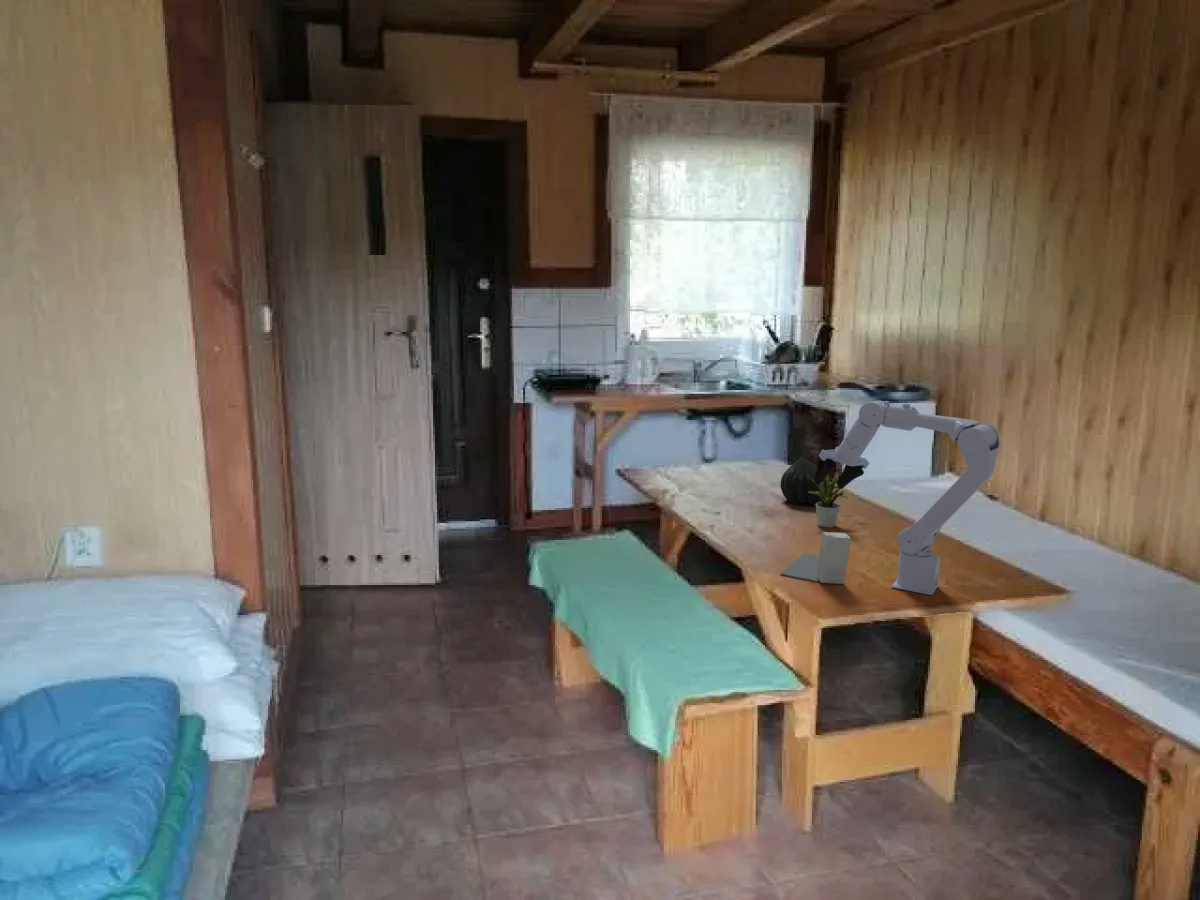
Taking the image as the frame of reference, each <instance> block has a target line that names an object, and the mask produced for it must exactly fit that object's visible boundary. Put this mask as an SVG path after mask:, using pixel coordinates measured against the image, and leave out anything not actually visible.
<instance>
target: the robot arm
mask: <svg viewBox="0 0 1200 900" xmlns="http://www.w3.org/2000/svg"><path fill="white" fill-rule="evenodd" d="M881 426H882V427H885V428H891V429H896V430H897V429H898V430H903V431H908V432H911V431H913V430H914V429H915V428H922V429H927V430H931V431H935V432H940V433H941V432H942V433H946V434H948V435H949V437H950V438H951V441H953V442H957V445H958V448H959V450H960V451H961V454H962V456H963V458H964V459H965V463H966V468H967V469H966V470H965V471H964V472H963V473H962V475H960V477H958V479H957V480H956V481H955V482H954V483H953V484H952V485H951V486H950V487H949V488H948V489H947V490H946V491H945V492H944V494H942V495H941V496H940V498H938V500H937V501H936V502H935V503H934V504H933V505H932V506H931V507H930V508H929V509H928V510H927V511H926V512H925V513H924V514H923V515H922V516H921V517H920V518H918V519H917V520H916V521H915V522H914V523H913V524H912V525H911V526H909V527H905V528H904V529H902V530H900V531H899V533H898V534H897V537H896V543H897V546H898V547H899V556H898V566H897V576H896V580H895V581H894V582H893V584H892V585H891V588H892V589H893V588H894V589H899V590H902V591H903V590H904V591H908V592H913V593H920V594H924V595H930V596H933V594H934V593H935V591H936V590H937V588H938V587H939V578H940V577H939V576H940V567H941V557H940V555H938V554H937V555H936V554H933V553H932V549H931V546H932V545H933V544H934V543H935V541H936V539H937V535H938V533H939V532H940V531H941V530H942V527H943V526H944V525H945V524H946V523H947V522H948V521H949V520H950V518H952V517H953V515H955V514H956V513H957V512H958V510H960V509H961V507H963V505H965V503H967V502H968V501H969V500H970V498H971V497H972V496H974V494H975V493H976V492H977V491H978V490H980V488H981V487H982V486H984V484H985V483H986V482H987V481H988V480H989V479H990V478H991V477H992V476H993V474H994V471H995V466H996V461H997V457H998V452H999V450H1000V447H1001V441H1000V436H999V433H998V429H997V428H995V427H994V426H993V425H992V424H990V423H985V422H983V423H980V421H977V420H974V419H969V418H968V419H967V418H962V417H960V418H959V417H953V416H945V415H944V416H943V415H936V414H929V413H928V414H927V413H920V412H919V410H918V409H917V407H916V408H915V407H914V406H911V403H903V404H902V405H901V404H894V403H890V401H888V400H885V401H883V400H874V401H870V402H866V403H864V404H863V405H861V407H860V409H859V411H858V417H857V419H856V420H855V422H854V423H852V426H851V427H850V429H849V430H848V431H847V434H846V435H845V437H844V438H843V439H842V441H841V443H840V444H839V445H838V446H836V447H835V448H834V449H827V450H826V449H822V450H821V451H820V452H819V453H818V455H817V465H816V466H817V470H816V474H815V477H814V482H815V483H816V484H817V485H820V484H821V483H822V481H823V480H824V479H825V477H827V475H828V476H829V474H830V473H831V472H833V471H834V470H835V469H836V468H835V467H834V465H833V463H834V462H835V463H840V464H843V465H845V466H844V468H843V470H842V472H841V473H840V476H838V477H839V478H837V483H836V486H838V487H839V488H840V490H842V489H844V488H846V486H848V485H849V484H850V483H852V482H853V481H854V480H855V479H857V478H859V477H862V476H863V475H864V473H865V471H864V469H865V470H867V468H868V466H869V465H870V462H869V461H868V459H867V458H864V457H862V455H863V453H864V452H865V450H866V449H867V447H868V446H869V444H870V443H871V442H872V440H873V438H874V437H875V435H876V433H877V432H878V431H879V429H880V427H881ZM847 484H848V485H847Z"/></svg>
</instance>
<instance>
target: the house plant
mask: <svg viewBox="0 0 1200 900" xmlns="http://www.w3.org/2000/svg"><path fill="white" fill-rule="evenodd" d="M837 473H838V472H835V474H834V477H833V479H832V480H831V479H830V477H829V474H828V475H827V476H826V477H827V479H826V480H827V494H826V491H825V487H824V483H823V481H822V483H821V484H820V485H817V484H816V483H815V482H814V483H815V484H816V485H817V487H818V488H819V490H820V492H818V491H815V492H813V491H810V492H808V493H813V494H816V495H818V496H819V497H820V499H821V502H818V503H816V505H815V512H816V523H817V526H819V527H821V526H822V528H835V527H836V524H837V520H838V516H839V512H840V508H841V505H840V504H838V503H837V501H836V500H837V498H839V497H841V498H846V499H849V496H847V494H845V492H847V491H849V489H848V490H847V489H846V490H843V491H840V490H841V489H840V488H839V487H838V486H837V484H836V483H837V481H838V479H839V478H838V477H839V474H837ZM812 480H813V479H812ZM813 481H814V480H813ZM848 485H849V483H848V484H847V485H846V486H848ZM819 486H820V487H819ZM841 498H839V499H838V501H839V500H841ZM835 501H836V502H835ZM834 526H835V527H834Z"/></svg>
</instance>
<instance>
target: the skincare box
mask: <svg viewBox="0 0 1200 900" xmlns="http://www.w3.org/2000/svg"><path fill="white" fill-rule="evenodd" d="M820 540H821V541H820V547H819V555H818V556H819V561H818V569H817V578H818V579H819V581H818V582H819V583H821V584H836V585H837V584H839V585H840V584H842V585H844V584H845V583H846V574H847V568H848V562H849V556H850V548H851V542H852V538H851V537H850V535H848V534H847V533H845V532H833V531H831V532H827V531H823V532H822V534H821V539H820Z"/></svg>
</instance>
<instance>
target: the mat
mask: <svg viewBox="0 0 1200 900" xmlns="http://www.w3.org/2000/svg"><path fill="white" fill-rule="evenodd" d="M818 561H819V555H817V554H816V555H815V554H810V553H804V552H803V553H802V554H801V555H800V556H799V557H797V558H796V559H795V560H794V561H793V562H792V563H790V564H789V566H787V567H786V568H785V569H784V570H782V571H781V572H780V574H781V575H780V574H779V575H780V576H782V575H785V576H784V577H787V576H789V578H794V579H798V580H802V581H808V580H809V581H808V582H814V583H819V582H820V581H819V579H818V578H817V569H818Z"/></svg>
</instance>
